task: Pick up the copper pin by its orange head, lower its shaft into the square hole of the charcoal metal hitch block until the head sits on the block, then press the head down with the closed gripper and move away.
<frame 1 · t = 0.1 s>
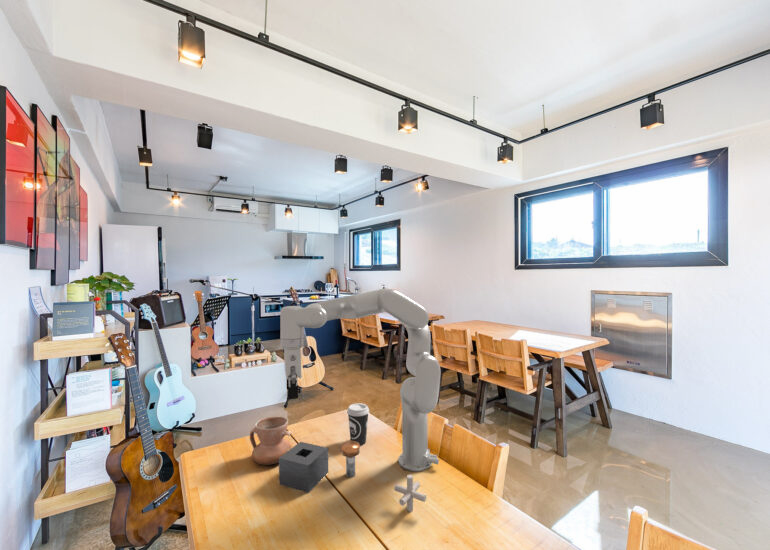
hand: (292, 393, 112), 31 cm above the table, tool pointing down, fingers open, 9 cm apart
light grey toy jack: (410, 510, 100), on the table
hitch block: (304, 478, 116), on the table
ceramic jug: (270, 458, 129), on the table
coffee cup: (358, 442, 141), on the table
copper pin: (350, 474, 118), on the table
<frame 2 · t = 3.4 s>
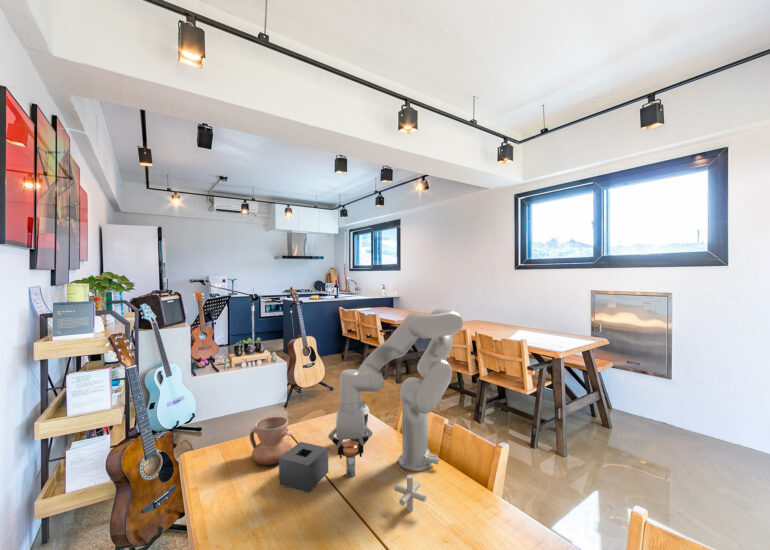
hand: (350, 455, 118), 7 cm above the table, tool pointing down, fingers closed on copper pin, 6 cm apart
copper pin: (350, 474, 118), on the table, touching gripper
everything else where it was.
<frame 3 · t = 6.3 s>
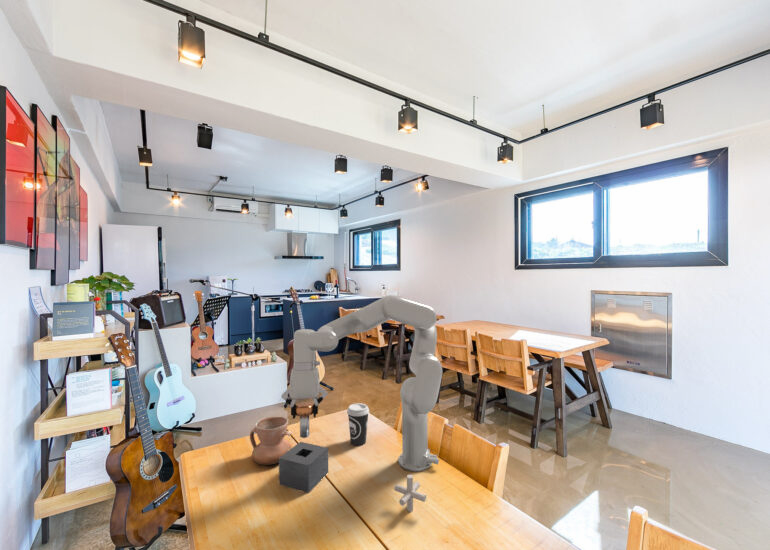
hand: (304, 416, 116), 22 cm above the table, tool pointing down, fingers closed on copper pin, 6 cm apart
copper pin: (304, 435, 116), point 15 cm above the table, touching gripper
everything else where it was.
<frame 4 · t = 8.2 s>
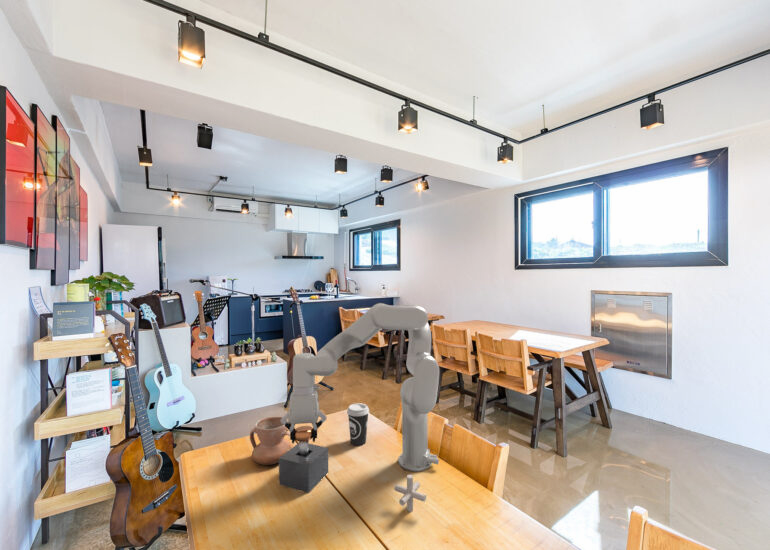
hand: (303, 440, 116), 13 cm above the table, tool pointing down, fingers closed on copper pin, 6 cm apart
copper pin: (303, 460, 116), point 7 cm above the table, touching gripper
everything else where it was.
when the fingers open (10 cm above the table, at t = 9.7 s): copper pin drops 2 cm, resting on hitch block.
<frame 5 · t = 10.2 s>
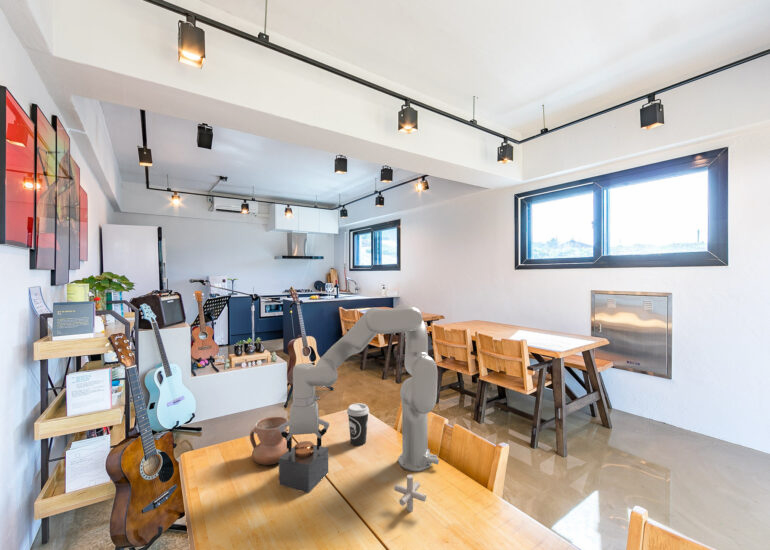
hand: (304, 449, 116), 10 cm above the table, tool pointing down, fingers open, 9 cm apart
copper pin: (304, 475, 116), point 1 cm above the table, touching hitch block
everything else where it was.
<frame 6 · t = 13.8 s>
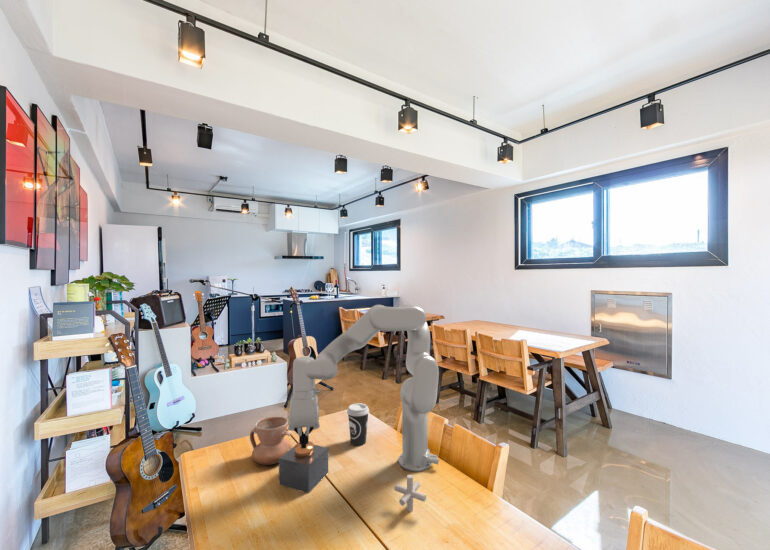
hand: (303, 445, 116), 11 cm above the table, tool pointing down, fingers closed
copper pin: (304, 475, 116), point 1 cm above the table, touching gripper, hitch block
everything else where it was.
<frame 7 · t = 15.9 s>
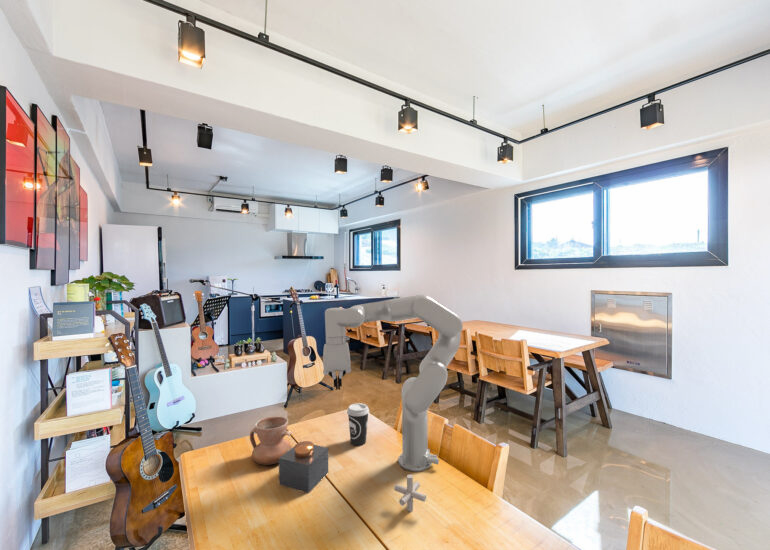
hand: (337, 388, 126), 28 cm above the table, tool pointing down, fingers closed
copper pin: (304, 475, 116), point 1 cm above the table, touching hitch block
everything else where it was.
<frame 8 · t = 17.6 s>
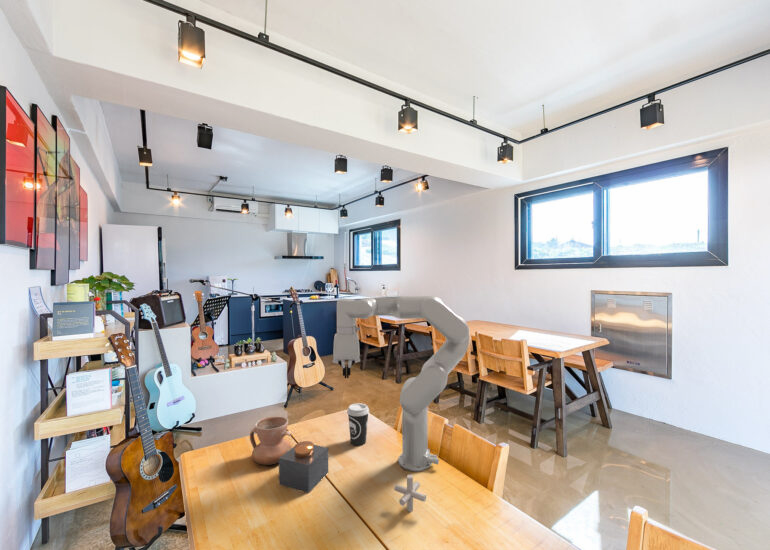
hand: (346, 377, 130), 31 cm above the table, tool pointing down, fingers closed
nothing on the table moved.
at the end: copper pin 0.0 cm off-centre on the hitch block, point 1.0 cm above the hitch block's base; copper pin tilted 0°; the gripper is holding nothing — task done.
